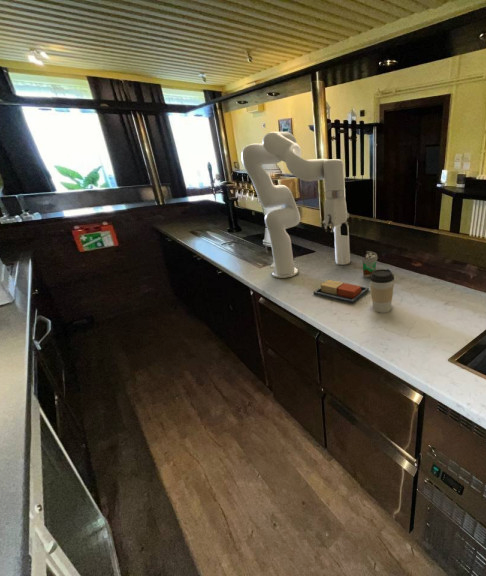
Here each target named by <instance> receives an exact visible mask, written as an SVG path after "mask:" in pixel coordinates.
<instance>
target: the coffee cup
mask: <svg viewBox="0 0 486 576" xmlns="http://www.w3.org/2000/svg"><path fill="white" fill-rule="evenodd" d="M394 280H395V274H393V273H392V271H391V269H388V268H387V269H382V268H381V269H379V268H378V269H376V270H375V271H373V273H372V274H371V275H370V277H369V281H370V282H369V283H370V284H369V286H370V295H371V301H372V302H371V303H372V310H373V311H375V312H377V313H388V312H390V311H391V309H392V302H393V301H392V300H393V296H394V295H393V293H394V286H395V285H394V282H395V281H394Z"/></svg>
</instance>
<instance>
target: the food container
mask: <svg viewBox="0 0 486 576" xmlns="http://www.w3.org/2000/svg"><path fill="white" fill-rule="evenodd" d="M378 259H379V257H378V254H377V253H376V252H374V251H370V250H366V253H365V255H364V258H362V273H363V278H370V275H371V274H372V273H373V271H375V270H377V261H378Z"/></svg>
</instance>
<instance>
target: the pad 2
mask: <svg viewBox="0 0 486 576" xmlns="http://www.w3.org/2000/svg"><path fill="white" fill-rule="evenodd" d="M343 283H344V284H343V285H341V286H340V287H338V288H337V293H338V295H339V296H343V297H347V298H352V299H354V298H355V297H356V296H357V295H359V294H360V293H361V285H356V284H351V283H347V282H343Z"/></svg>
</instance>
